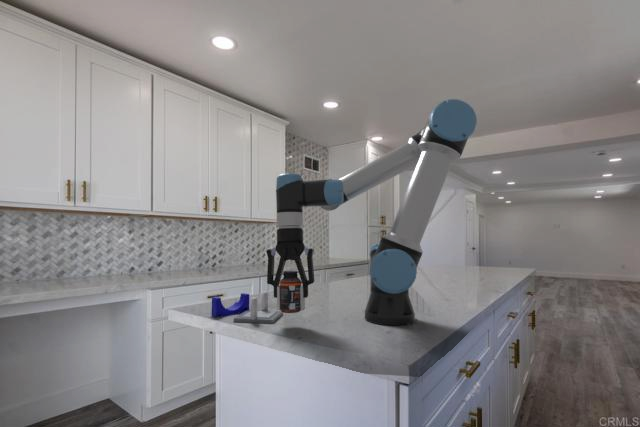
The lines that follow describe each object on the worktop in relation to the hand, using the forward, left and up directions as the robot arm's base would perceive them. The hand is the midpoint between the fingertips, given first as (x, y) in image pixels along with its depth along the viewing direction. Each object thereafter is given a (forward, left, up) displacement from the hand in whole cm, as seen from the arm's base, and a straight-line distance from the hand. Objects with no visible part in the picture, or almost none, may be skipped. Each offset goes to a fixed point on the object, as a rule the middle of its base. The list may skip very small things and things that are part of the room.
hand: (291, 309), depth 97 cm
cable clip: (+23, -13, -5) cm, 27 cm away
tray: (+12, -8, -5) cm, 15 cm away
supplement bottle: (0, 0, -1) cm, 1 cm away
